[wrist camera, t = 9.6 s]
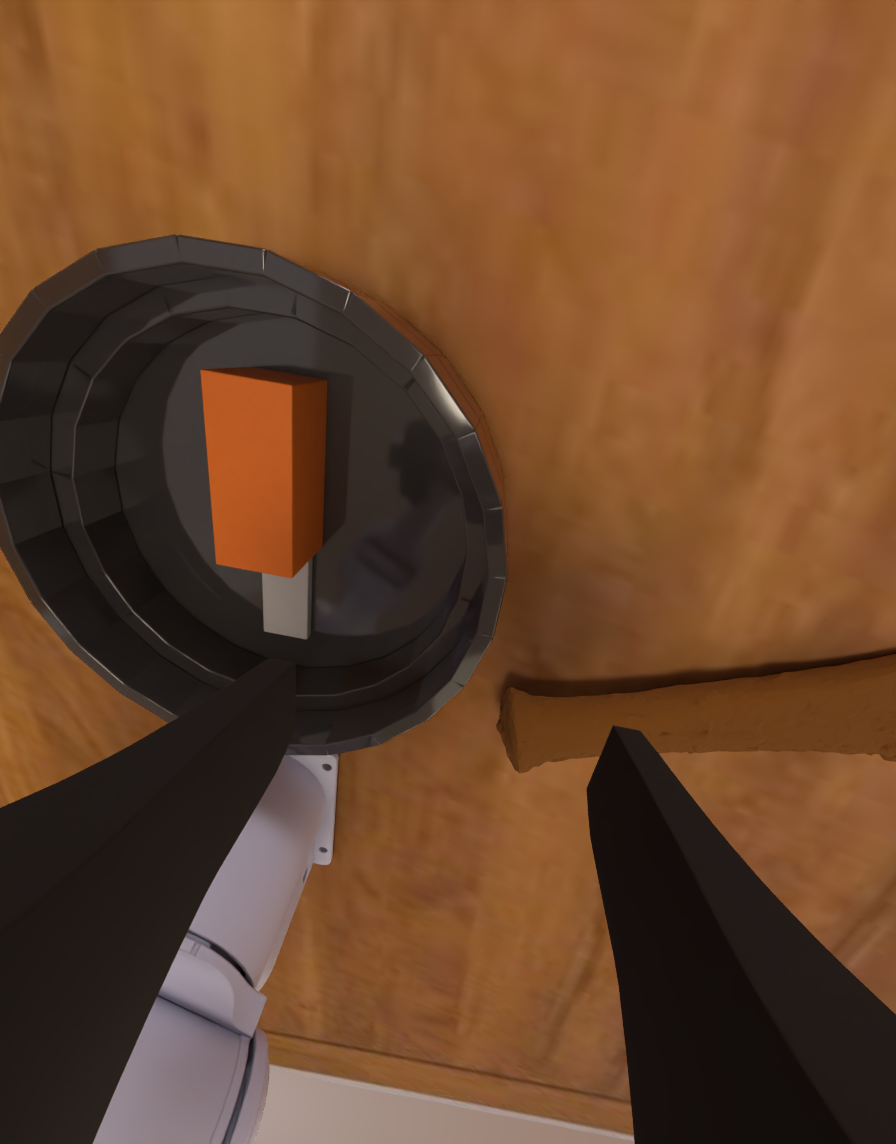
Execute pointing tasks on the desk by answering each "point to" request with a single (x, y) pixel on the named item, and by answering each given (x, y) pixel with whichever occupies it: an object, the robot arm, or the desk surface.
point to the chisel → (268, 482)
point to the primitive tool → (716, 716)
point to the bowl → (183, 503)
